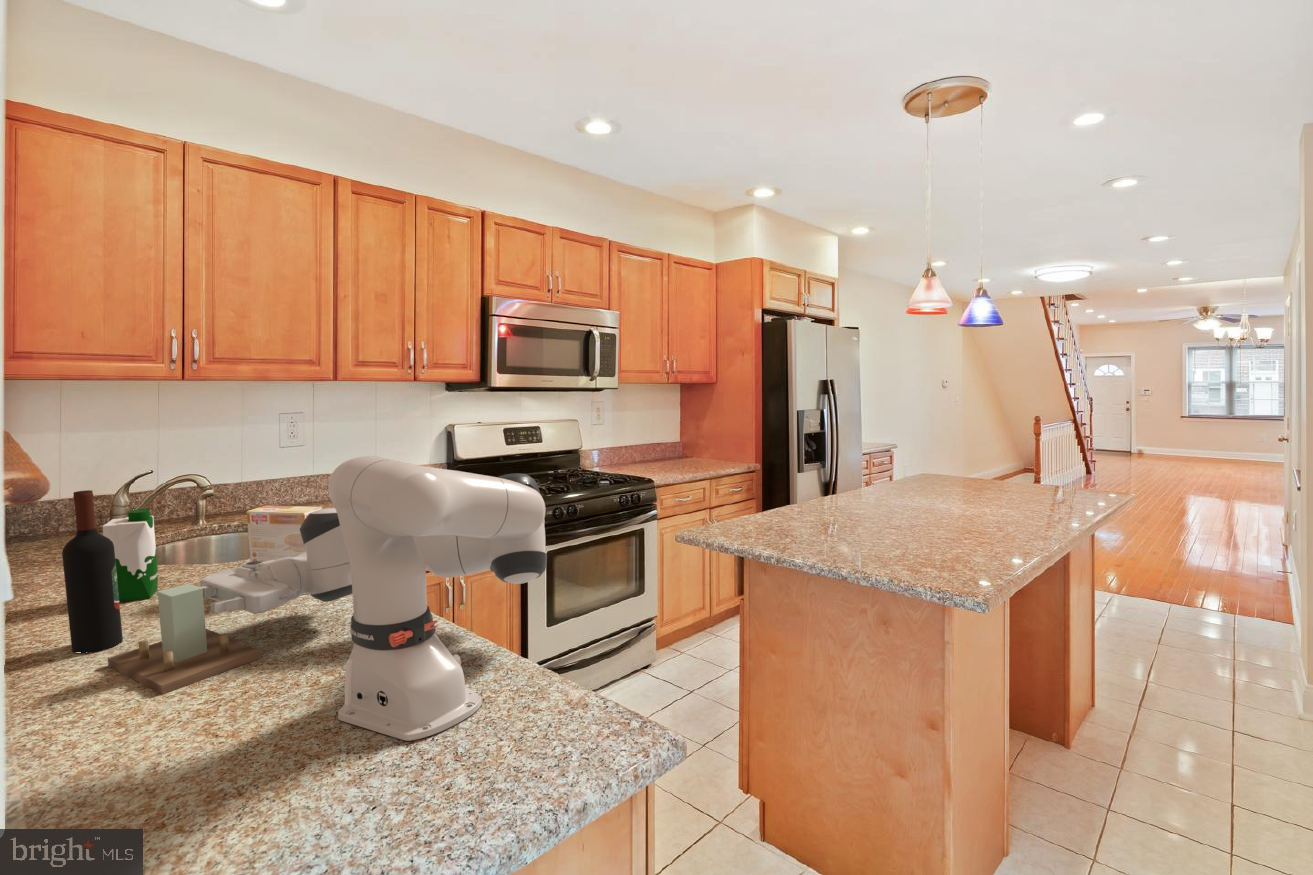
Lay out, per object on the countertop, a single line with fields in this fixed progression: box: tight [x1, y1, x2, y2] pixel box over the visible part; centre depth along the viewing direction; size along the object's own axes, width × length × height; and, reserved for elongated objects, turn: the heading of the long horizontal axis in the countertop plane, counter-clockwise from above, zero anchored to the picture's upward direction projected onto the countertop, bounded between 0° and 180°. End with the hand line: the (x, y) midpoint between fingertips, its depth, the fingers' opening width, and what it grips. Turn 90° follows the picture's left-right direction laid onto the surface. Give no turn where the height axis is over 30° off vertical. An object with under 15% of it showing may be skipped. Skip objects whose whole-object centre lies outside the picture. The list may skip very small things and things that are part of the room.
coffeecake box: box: [246, 505, 323, 562], centre depth 162 cm, size 15×7×20 cm, turn 82°
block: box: [157, 583, 207, 662], centre depth 122 cm, size 5×5×12 cm
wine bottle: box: [61, 489, 124, 654], centre depth 128 cm, size 8×8×30 cm
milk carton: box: [102, 508, 159, 603], centre depth 156 cm, size 9×9×20 cm
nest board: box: [107, 628, 262, 695], centre depth 123 cm, size 20×16×4 cm
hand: (199, 603), depth 125 cm, fingers open, 8 cm apart
